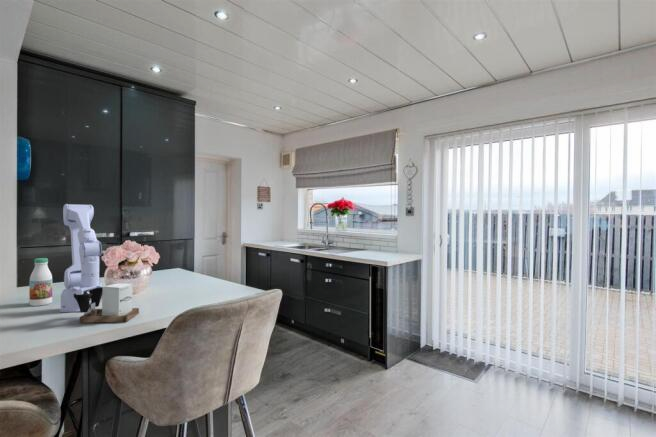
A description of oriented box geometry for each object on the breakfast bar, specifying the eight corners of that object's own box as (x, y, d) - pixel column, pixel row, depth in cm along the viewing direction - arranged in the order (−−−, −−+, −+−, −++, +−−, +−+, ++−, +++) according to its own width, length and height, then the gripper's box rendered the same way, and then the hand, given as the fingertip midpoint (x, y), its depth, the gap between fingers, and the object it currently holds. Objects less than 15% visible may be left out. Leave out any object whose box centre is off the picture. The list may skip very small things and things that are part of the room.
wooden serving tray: (77, 322, 124) (77, 307, 124) (94, 313, 135) (94, 299, 135) (126, 321, 127) (126, 306, 127) (138, 313, 137) (138, 299, 137)
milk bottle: (25, 305, 147) (25, 259, 147) (45, 301, 154) (45, 257, 154) (35, 307, 144) (36, 260, 144) (56, 303, 151) (56, 258, 151)
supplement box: (118, 321, 127) (118, 287, 127) (101, 319, 128) (101, 286, 128) (133, 315, 134) (133, 283, 134) (116, 314, 136) (117, 282, 136)
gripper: (91, 277, 123) (90, 314, 123) (111, 270, 137) (110, 304, 138) (69, 277, 122) (69, 314, 122) (92, 270, 137) (91, 304, 137)
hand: (89, 309), depth 130 cm, fingers open, 7 cm apart
